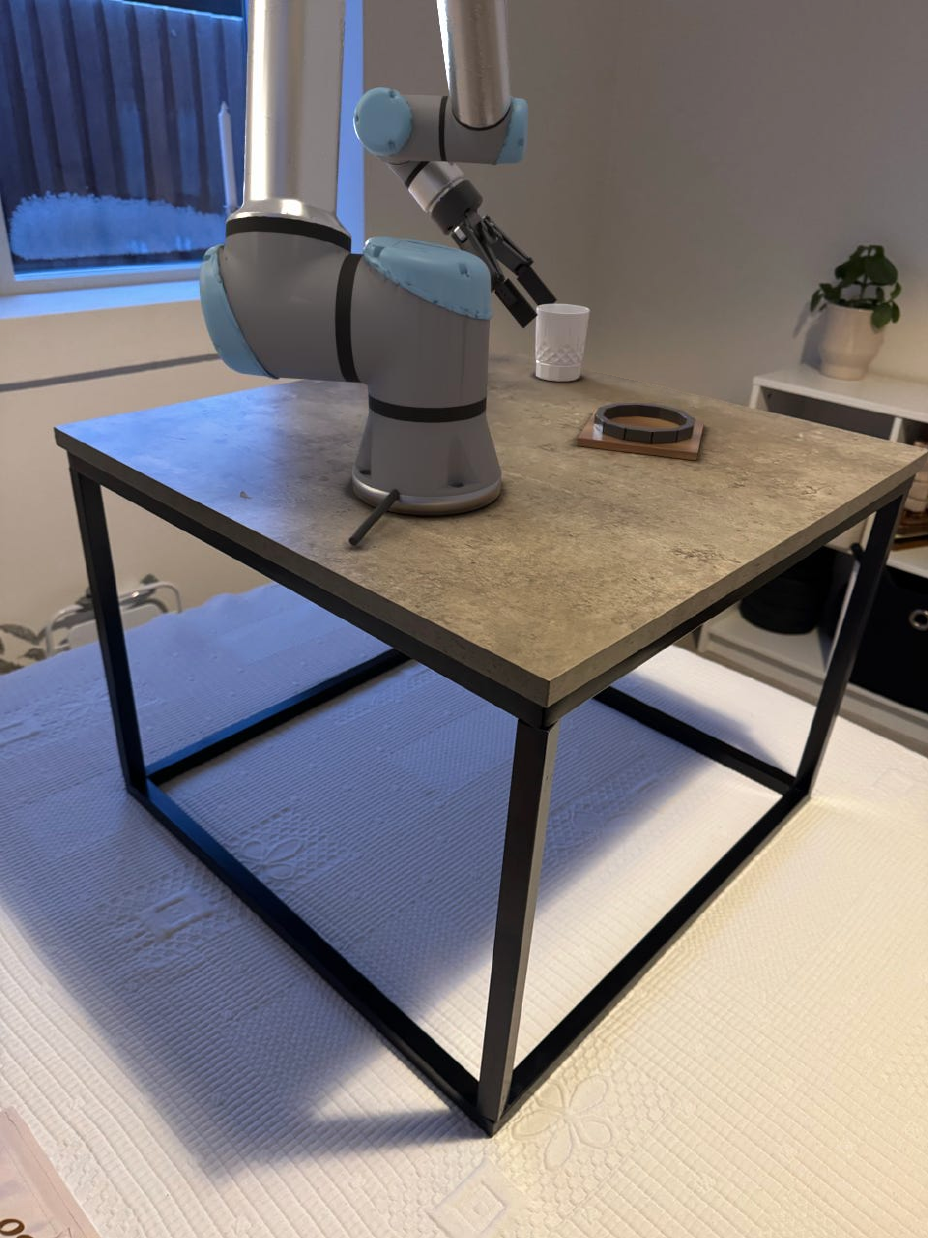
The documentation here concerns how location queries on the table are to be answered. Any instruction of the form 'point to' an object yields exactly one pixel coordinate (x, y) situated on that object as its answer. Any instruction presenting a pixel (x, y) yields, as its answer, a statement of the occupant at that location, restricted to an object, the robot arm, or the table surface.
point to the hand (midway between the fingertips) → (541, 313)
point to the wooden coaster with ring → (643, 430)
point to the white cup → (560, 341)
